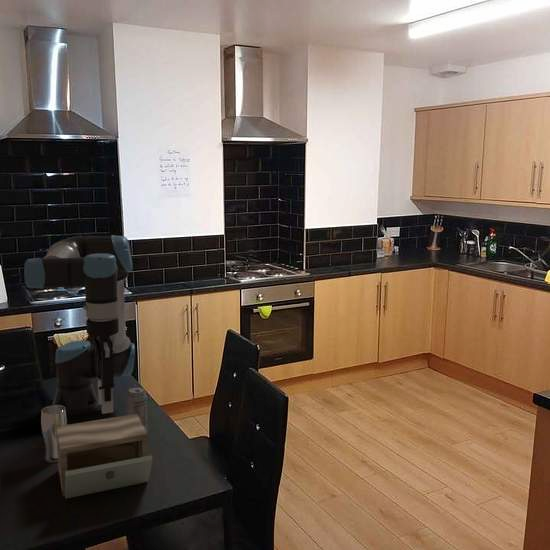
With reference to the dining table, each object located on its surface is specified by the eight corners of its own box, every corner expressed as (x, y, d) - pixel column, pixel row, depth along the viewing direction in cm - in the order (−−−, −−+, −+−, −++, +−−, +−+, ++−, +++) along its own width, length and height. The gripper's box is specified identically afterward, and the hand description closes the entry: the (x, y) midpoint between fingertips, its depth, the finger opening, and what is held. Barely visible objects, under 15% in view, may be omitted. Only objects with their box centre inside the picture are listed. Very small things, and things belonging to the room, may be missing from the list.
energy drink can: (141, 428, 189) (140, 385, 187) (151, 435, 185) (149, 390, 182) (124, 433, 185) (123, 389, 183) (133, 440, 181) (132, 395, 178)
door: (64, 494, 147) (65, 471, 140) (147, 477, 156) (151, 455, 148) (65, 502, 146) (66, 479, 138) (148, 485, 155) (153, 462, 147)
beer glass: (44, 465, 165) (41, 416, 162) (42, 454, 171) (39, 407, 168) (70, 460, 168) (67, 411, 165) (66, 450, 174) (64, 403, 171)
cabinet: (58, 473, 161) (56, 426, 158) (138, 458, 170) (137, 413, 167) (62, 499, 148) (60, 448, 146) (148, 482, 157) (147, 433, 155)
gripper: (81, 310, 147) (85, 397, 151) (90, 328, 131) (95, 425, 135) (112, 308, 150) (115, 392, 154) (124, 325, 134) (127, 419, 138)
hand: (105, 407), depth 145 cm, fingers open, 5 cm apart
